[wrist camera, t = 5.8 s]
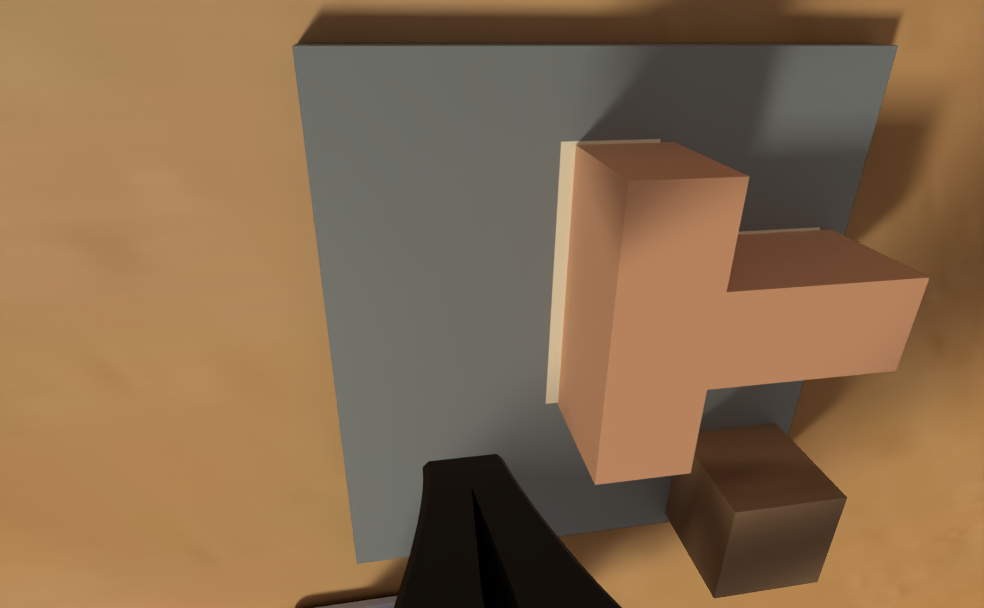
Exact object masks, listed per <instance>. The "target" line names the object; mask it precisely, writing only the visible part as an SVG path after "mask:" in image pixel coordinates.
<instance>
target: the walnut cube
mask: <svg viewBox="0 0 984 608" xmlns="http://www.w3.org/2000/svg"><path fill="white" fill-rule="evenodd" d="M846 499H847V497H846V496H845V495H844V494H843V493H842V492H841V491H840V490H839V489H838V488H837V486H836V485H835V484H834V483H833V482H832V481H831V480H830V479H829V478H828V477H827V476H826V475H825V474H824V473H823V472H822V471H821V470H820V469H819V468H818V467H817V466H816V465H815V464H814V463H813V462H812V461H811V459H810V458H809V457H808V456H807V455H806V454H805V453H804V452H803V451H802V450H801V449H800V448H799V447H798V446H797V445H796V444H795V443H794V442H793V441H792V440H791V439H790V438H789V437H788V436H787V435H786V433H785V432H784V431H783V430H782V429H781V428H780V427H779V426H778V425H777V424H767V425H758V426H749V427H740V428H731V429H722V430H713V431H704V432H699V433H698V438H697V443H696V449H695V454H694V459H693V464H692V469H691V473H688V474H680V475H672V478H671V483H670V489H669V494H668V500H667V505H666V511H665V514H666V516H667V517H668V519H669V521H670V523H671V524H672V526H673V528H674V530H675V531H676V533H677V535H678V537H679V538H680V540H681V542H682V544H683V545H684V547H685V549H686V550H687V552H688V554H689V556H690V557H691V559H692V561H693V563H694V564H695V566H696V568H697V570H698V571H699V573H700V575H701V577H702V578H703V580H704V582H705V583H706V585H707V587H708V589H709V590H710V592H711V594H712V596H713V597H714V598H719V597H726V596H732V595H738V594H744V593H751V592H757V591H763V590H770V589H776V588H782V587H788V586H795V585H801V584H807V583H814V582H817V581H818V578H819V576H820V573H821V570H822V567H823V564H824V562H825V559H826V556H827V553H828V550H829V547H830V545H831V542H832V539H833V536H834V533H835V531H836V528H837V525H838V522H839V519H840V516H841V514H842V511H843V508H844V505H845V502H846Z"/></svg>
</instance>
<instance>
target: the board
mask: <svg viewBox="0 0 984 608" xmlns="http://www.w3.org/2000/svg"><path fill="white" fill-rule="evenodd" d="M292 47H293V55H294V63H295V71H296V79H297V87H298V95H299V103H300V111H301V119H302V127H303V135H304V143H305V151H306V159H307V167H308V175H309V183H310V191H311V199H312V207H313V215H314V223H315V231H316V239H317V247H318V255H319V263H320V271H321V279H322V287H323V295H324V303H325V311H326V319H327V327H328V335H329V343H330V351H331V359H332V367H333V375H334V383H335V391H336V399H337V407H338V415H339V423H340V431H341V439H342V447H343V455H344V463H345V471H346V479H347V487H348V495H349V503H350V511H351V519H352V527H353V535H354V543H355V551H356V559H357V564H359V563H366V562H374V561H381V560H388V559H396V558H403V557H409V556H410V552H411V548H412V544H413V539H414V535H415V531H416V527H417V523H418V517H419V511H420V506H421V499H422V490H423V469H422V467H423V466H424V465H425V464H426V463H427V462H428V461H436V460H445V459H454V458H463V457H472V456H481V455H490V454H498V455H499V456H500V457H502V458H503V460H504V462H505V463H506V465H507V467H508V468H509V470H510V472H511V473H512V475H513V476H514V478H515V479H516V481H517V482H518V484H519V485H520V487H521V488H522V490H523V491H524V493H525V494H526V495H527V497H528V498H529V500H530V501H531V503H532V504H533V505H534V507H535V508H536V509H537V511H538V512H539V513H540V515H541V516H542V517H543V519H544V520H545V521H546V523H547V524H548V525H549V526H550V528H551V529H552V530H553V531H554V533H555V534H556V535H557V536H566V535H573V534H581V533H588V532H595V531H603V530H610V529H618V528H625V527H632V526H640V525H647V524H655V523H662V522H669V519H668V517H667V516H666V514H665V511H666V505H667V500H668V494H669V489H670V483H671V478H672V476H664V477H656V478H647V479H639V480H631V481H623V482H615V483H607V484H599V485H595V484H594V482H593V480H592V478H591V475H590V473H589V471H588V469H587V467H586V465H585V462H584V460H583V458H582V456H581V454H580V452H579V450H578V447H577V445H576V443H575V441H574V439H573V437H572V434H571V432H570V430H569V428H568V426H567V424H566V422H565V419H564V417H563V415H562V413H561V411H560V409H559V406H558V396H559V381H560V367H561V352H562V338H563V323H564V309H565V295H566V280H567V266H568V251H569V237H570V222H571V208H572V194H573V179H574V165H575V150H576V145H589V144H624V143H659V142H675V143H678V144H680V145H682V146H684V147H686V148H688V149H691V150H693V151H695V152H697V153H699V154H702V155H704V156H706V157H708V158H710V159H712V160H715V161H717V162H719V163H721V164H723V165H726V166H728V167H730V168H732V169H734V170H736V171H739V172H741V173H743V174H745V175H747V176H750V177H749V182H748V187H747V192H746V197H745V202H744V207H743V212H742V217H741V222H740V227H739V232H738V235H739V234H757V233H775V232H793V231H811V230H829V229H832V230H834V231H836V232H838V233H840V234H842V235H844V236H845V232H846V229H847V225H848V222H849V218H850V214H851V211H852V207H853V204H854V200H855V197H856V193H857V190H858V186H859V182H860V179H861V175H862V172H863V168H864V165H865V161H866V158H867V154H868V150H869V147H870V143H871V140H872V136H873V133H874V129H875V126H876V122H877V118H878V115H879V111H880V108H881V104H882V101H883V97H884V94H885V90H886V86H887V83H888V79H889V76H890V72H891V69H892V65H893V61H894V58H895V54H896V51H897V47H898V46H896V45H884V44H402V43H297V44H295V45H293V46H292ZM803 382H804V380H801V381H791V382H781V383H771V384H760V385H750V386H740V387H730V388H720V389H710V390H707V393H706V398H705V403H704V408H703V413H702V418H701V423H700V428H699V432H704V431H713V430H722V429H731V428H740V427H749V426H758V425H767V424H777V425H778V426H779V427H780V428H781V429H782V430H783V431H784V432H785V433H786V435H787V436H788V435H789V431H790V428H791V424H792V421H793V417H794V414H795V410H796V406H797V403H798V399H799V396H800V392H801V389H802V385H803Z"/></svg>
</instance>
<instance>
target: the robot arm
mask: <svg viewBox="0 0 984 608" xmlns="http://www.w3.org/2000/svg"><path fill="white" fill-rule="evenodd" d="M422 469H423V490H422V499H421V506H420V511H419V517H418V523H417V527H416V531H415V535H414V539H413V544H412V548H411V552H410V556H409V560H408V563H407V567H406V570H405V573H404V577H403V580H402V583H401V586H400V589H399V592H398V596H391V597H384V598H378V599H371V600H364V601H357V602H350V603H343V604H336V605H329V606H322V607H316V608H622V607H621V606H620V605H619V604H618V603H617V602H616V601H615V600H614V599H613V598H612V597H611V596H610V595H609V594H608V593H607V592H606V591H605V590H604V589H603V588H602V587H601V586H600V585H599V584H598V583H597V582H596V580H595V579H594V578H593V577H592V576H591V575H590V574H589V573H588V572H587V570H586V569H585V568H584V567H583V566H582V565H581V564H580V563H579V562H578V560H577V559H576V558H575V557H574V556H573V555H572V553H571V552H570V551H569V550H568V549H567V547H566V546H565V545H564V544H563V543H562V541H561V540H560V539H559V538H558V536H557V535H556V534H555V533H554V531H553V530H552V529H551V528H550V526H549V525H548V524H547V523H546V521H545V520H544V519H543V517H542V516H541V515H540V513H539V512H538V511H537V509H536V508H535V507H534V505H533V504H532V503H531V501H530V500H529V498H528V497H527V495H526V494H525V493H524V491H523V490H522V488H521V487H520V485H519V484H518V482H517V481H516V479H515V478H514V476H513V475H512V473H511V472H510V470H509V468H508V467H507V465H506V463H505V462H504V460H503V458H502V457H500V456H499V455H498V454H490V455H481V456H472V457H463V458H454V459H445V460H436V461H428V462H427V463H426V464H425V465H424V466H423V467H422Z"/></svg>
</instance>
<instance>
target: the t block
mask: <svg viewBox="0 0 984 608" xmlns="http://www.w3.org/2000/svg"><path fill="white" fill-rule="evenodd" d="M749 177H750V176H747V175H745V174H743V173H741V172H739V171H736V170H734V169H732V168H730V167H728V166H726V165H723V164H721V163H719V162H717V161H715V160H712V159H710V158H708V157H706V156H704V155H702V154H699V153H697V152H695V151H693V150H691V149H688V148H686V147H684V146H682V145H680V144H678V143H675V142H659V143H624V144H589V145H576V150H575V165H574V179H573V194H572V208H571V222H570V237H569V251H568V266H567V280H566V295H565V309H564V323H563V338H562V352H561V367H560V381H559V396H558V406H559V409H560V411H561V413H562V415H563V417H564V419H565V422H566V424H567V426H568V428H569V430H570V432H571V434H572V437H573V439H574V441H575V443H576V445H577V447H578V450H579V452H580V454H581V456H582V458H583V460H584V462H585V465H586V467H587V469H588V471H589V473H590V475H591V478H592V480H593V482H594V484H595V485H599V484H607V483H615V482H623V481H631V480H639V479H647V478H656V477H664V476H672V475H680V474H688V473H691V469H692V464H693V459H694V454H695V449H696V443H697V438H698V433H699V428H700V423H701V418H702V413H703V408H704V403H705V398H706V393H707V390H710V389H720V388H730V387H740V386H750V385H760V384H771V383H781V382H791V381H801V380H811V379H821V378H831V377H841V376H851V375H861V374H871V373H881V372H891V371H896V370H897V367H898V365H899V362H900V359H901V356H902V353H903V351H904V348H905V345H906V342H907V339H908V337H909V334H910V331H911V328H912V326H913V323H914V320H915V317H916V314H917V312H918V309H919V306H920V303H921V300H922V298H923V295H924V292H925V289H926V286H927V284H928V281H929V277H927V276H925V275H923V274H921V273H919V272H917V271H915V270H913V269H911V268H909V267H907V266H905V265H903V264H901V263H899V262H897V261H895V260H893V259H891V258H889V257H887V256H885V255H883V254H881V253H879V252H877V251H875V250H872V249H870V248H868V247H866V246H864V245H862V244H860V243H858V242H856V241H854V240H852V239H850V238H848V237H846V236H844V235H842V234H840V233H838V232H836V231H834V230H832V229H829V230H811V231H793V232H775V233H757V234H739V235H738V232H739V227H740V222H741V217H742V212H743V207H744V202H745V197H746V192H747V187H748V182H749Z"/></svg>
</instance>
